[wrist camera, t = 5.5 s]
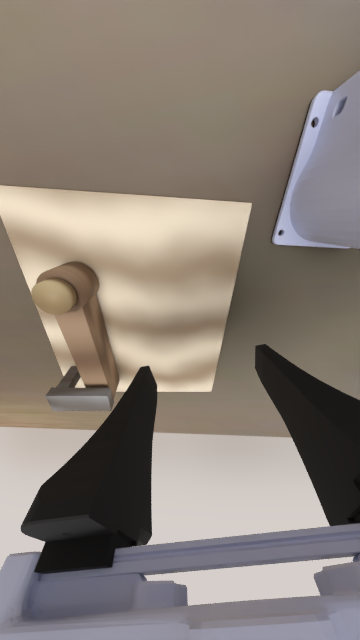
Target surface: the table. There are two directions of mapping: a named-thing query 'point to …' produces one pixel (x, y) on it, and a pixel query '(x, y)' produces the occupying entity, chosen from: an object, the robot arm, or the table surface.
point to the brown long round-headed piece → (85, 327)
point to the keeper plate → (132, 280)
